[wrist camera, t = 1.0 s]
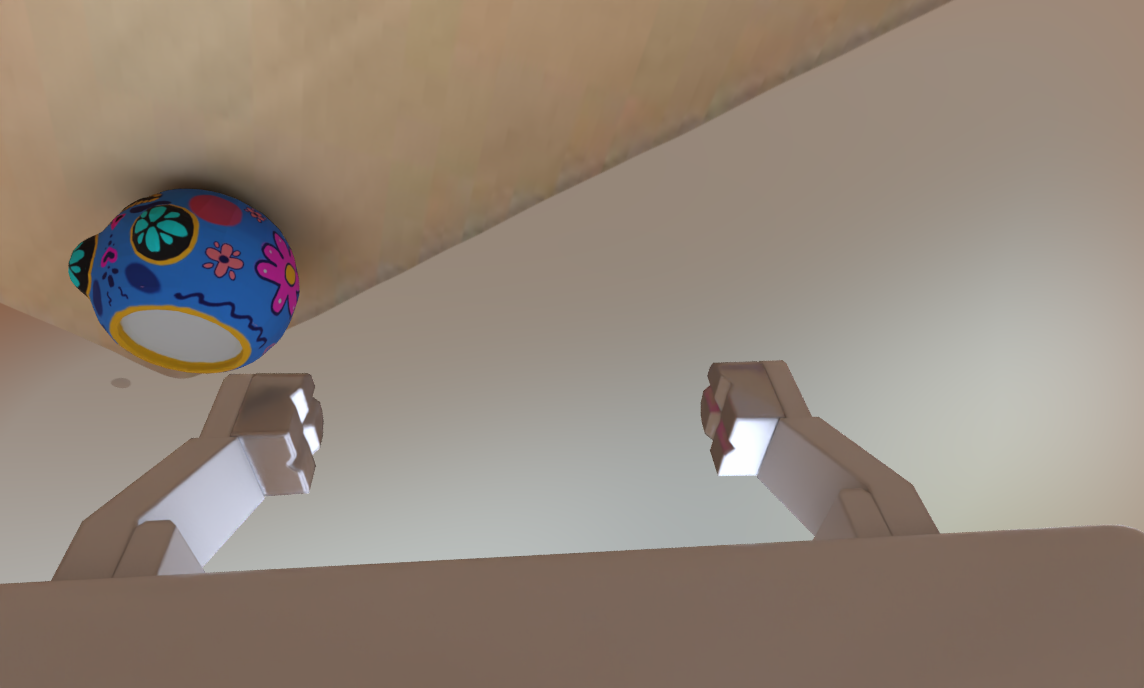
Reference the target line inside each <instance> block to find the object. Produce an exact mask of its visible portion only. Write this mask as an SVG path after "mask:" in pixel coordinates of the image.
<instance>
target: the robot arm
mask: <svg viewBox="0 0 1144 688" xmlns="http://www.w3.org/2000/svg"><path fill="white" fill-rule="evenodd" d="M708 379H709V382H710V386H709V387H707V388H706V389H705V390H704V391H703V395H702V400H701V420H702V425H703V429H704V432H705V434H706V435H707V436H708V437H710V438H711V439H712V440H713V442H712V445H711V449H710V452H711V455H712V458H713V461H714V465H715V468H716V471H717V474H718V476H733V475H734V476H735V475H757V478H758V479H759V480H760V481H761V482H762V483H763V484H764V485H765V486H766V487H767V488H768V489H769V490H770V491H771V492H772V493H773V494H774V495H775V496H776V497H777V498H778V499H779V500H780V501H781V502H782V503H783V504H784V505H785V506H786V507H787V508H788V509H789V510H790V511H791V512H792V513H793V514H794V516H796V518H798V520H799V521H800V522H801V523H802V524H803V525H804V526H805V527H806V528H807V529H808V530H809V531H810V532H811V533H812V534H813V535H814V536H815V537H814V539H813V540H812V541H794V542H774V543H755V544H736V545H717V546H698V547H681V548H662V549H644V550H625V551H606V552H588V553H570V554H550V555H532V556H513V557H494V558H476V559H456V560H439V561H438V560H437V561H419V562H400V563H382V564H363V565H345V566H325V567H306V568H287V569H269V570H250V571H232V572H213V573H205V571H204V570H203V568H202V567H203V566H204V565H205V564H206V563H207V562H208V561H209V560H210V558H211V557H212V556H213V555H214V554H215V553H216V552H217V551H218V550H219V549H220V547H221V546H222V545H223V544H224V543H225V542H226V541H227V540H228V538H229V537H230V536H231V535H232V534H233V533H234V532H235V531H236V530H237V529H238V527H239V526H240V525H241V524H242V523H243V522H244V521H245V520H246V519H247V517H249V515H250V514H251V513H252V512H253V511H254V510H255V509H256V508H257V507H258V505H259V504H260V503H261V502H262V501H263V500H264V496H275V495H289V494H303V493H309V491H310V487H311V483H312V479H313V475H314V471H315V467H316V465H315V461H314V458H313V453H315V452H316V451H317V450H318V449H319V448H320V446H321V442H322V437H323V422H324V421H323V413H322V408H321V405H320V402H319V401H317V400H316V399H315V398H313V393H314V389H315V385H314V382H313V379H312V376H311V375H310V374H308V373H302V374H301V373H278V374H277V373H276V374H275V373H272V374H271V373H270V374H269V373H268V374H267V373H258V374H229V375H228V376H227V377H226V378H225V379H224V380H223V382H222V385H221V387H220V389H219V392H218V394H217V396H216V399H215V401H214V404H213V406H212V409H211V411H210V413H209V415H208V418H207V420H206V423H205V425H204V427H203V430H202V432H201V435H200V437H199V438H191V439H190V440H188V441H187V442H186V443H184V444H183V445H182V446H181V447H179V448H178V449H177V450H175V451H174V452H173V453H171V454H170V455H169V456H167V457H166V458H165V459H163V460H162V461H161V462H160V463H158V464H157V465H156V466H154V467H153V468H152V469H150V470H149V471H148V472H146V473H145V474H144V475H142V476H141V477H140V478H139V479H137V480H136V481H135V482H133V483H132V484H131V485H129V486H128V487H127V488H126V489H124V490H123V491H122V492H120V493H119V494H118V495H116V496H115V497H114V498H112V499H111V500H110V501H109V502H107V503H106V504H105V505H103V506H102V507H101V508H99V509H98V510H97V511H95V512H94V513H93V514H91V515H90V516H89V517H88V518H86V519H85V520H84V521H82V523H81V525H80V527H79V529H78V531H77V533H76V534H75V536H74V538H73V540H72V542H71V544H70V546H69V548H68V550H67V551H66V553H65V555H64V557H63V559H62V561H61V563H60V565H59V567H58V569H57V570H56V572H55V574H54V576H53V578H52V580H51V581H45V582H27V583H8V584H0V688H1144V533H1143V532H1141V531H1140V530H1138V529H1135V528H1132V527H1129V526H1122V525H1089V526H1088V525H1087V526H1071V527H1053V528H1036V529H1017V530H1001V531H983V532H982V531H981V532H962V533H944V534H940V533H939V531H938V529H937V527H936V526H935V524H934V522H933V520H932V519H931V517H930V515H929V513H928V511H927V509H926V508H925V506H924V504H923V503H922V501H921V499H920V497H919V495H918V493H917V492H916V490H915V488H914V486H913V485H912V484H911V483H909V482H908V481H907V480H905V479H904V478H902V477H901V476H900V475H899V474H897V473H896V472H894V471H893V470H892V469H890V468H888V467H887V466H886V465H885V464H883V463H882V462H881V461H879V460H878V459H876V458H875V457H874V456H872V455H871V454H869V453H868V452H867V451H865V450H864V449H862V448H861V447H860V446H858V445H857V444H856V443H854V442H853V441H851V440H850V439H848V438H847V437H846V436H844V435H843V434H841V433H840V432H839V431H838V430H836V429H835V428H833V427H832V426H830V425H829V424H828V423H826V422H825V421H824V420H822V419H821V418H819V417H812V416H811V414H810V412H809V410H808V407H807V406H806V403H805V401H804V399H803V398H802V395H801V393H800V391H799V389H798V387H797V385H796V383H795V381H794V378H793V376H792V374H791V372H790V370H789V368H788V366H787V364H786V363H785V362H784V361H783V360H779V361H759V362H757V361H752V362H725V363H724V362H723V363H713V364H712V365H711V367H710V369H709V372H708Z"/></svg>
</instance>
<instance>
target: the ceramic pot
mask: <svg viewBox="0 0 1144 688" xmlns="http://www.w3.org/2000/svg"><path fill="white" fill-rule="evenodd" d="M68 273H69V276H70V279H71V281H72V282H73V283H74V285H75V286H76V287H77V288H78V289H79V290H80V291H81V292H82V293H83V294H85V295H86V296H87V297H88V298H89V299H90V301H91V303H92V305H93V308H94V311H95V314H96V316H97V318H98V320H99V322H100V324H101V325H102V326H103V328H104V329H105V330H106V331H107V333H108V334H109V335H110V336H111V337H112V339H113V340H114V341H115V342H116V343H117V344H118V345H120V346H121V347H123V348H124V349H125V350H127V351H128V352H130V353H131V354H133V355H134V356H137V357H139V358H141V359H143V360H145V361H147V362H149V363H152V364H155V365H158V366H161V367H164V368H168V369H173V370H178V371H183V372H190V373H206V374H207V373H220V372H227V371H231V370H235V369H238V368H241V367H244V366H246V365H248V364H250V363H252V362H254V361H255V360H257V359H259V358H260V357H261V356H262V355H264V354H265V353H266V352H267V351H268V350H269V349H270V348H271V347H272V346H274V345H275V344H276V343H277V342H278V341H279V339H280V338H281V337H282V336H283V334H284V332H285V330H286V329H287V327H288V325H289V323H290V321H291V318H292V315H293V313H294V310H295V307H296V304H297V301H298V297H299V277H298V273H297V268H296V264H295V260H294V256H293V253H292V251H291V248H290V247H289V245H288V243H287V241H286V239H285V238H284V236H283V235H282V233H281V231H280V230H279V229H278V228H277V227H276V226H275V225H274V224H273V223H272V222H271V221H270V220H269V219H268V218H267V217H266V216H265V215H264V214H262V213H261V212H259V211H257V210H256V209H254V208H252V207H250V206H249V205H247V204H245V203H243V202H242V201H240V200H238V199H235V198H233V197H230V196H227V195H224V194H221V193H217V192H213V191H207V190H200V189H173V190H167V191H164V192H160V193H157V194H154V195H151V196H149V197H146V198H141V199H139V200H137V201H135V202H133V203H132V204H130V205H128V206H127V207H125V208H124V209H123V210H122V211H121V213H120V214H119V215H117V216H116V217H115V218H114V219H113V220H112V222H111V223H110V224H109V225H108V226H107V227H106V228H105V229H104V230H103V231H102V232H101V233H99V234H97V235H95V236H92V237H90V238H88V239H86V240H85V241H83V242H81V243H80V244H79V245H78V246H77V247H76V248H75V250H74V251H73V253H72V255H71V258H70V261H69V270H68Z"/></svg>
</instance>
